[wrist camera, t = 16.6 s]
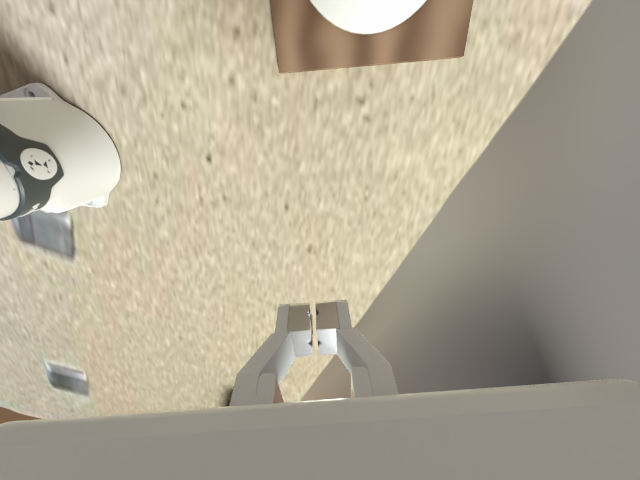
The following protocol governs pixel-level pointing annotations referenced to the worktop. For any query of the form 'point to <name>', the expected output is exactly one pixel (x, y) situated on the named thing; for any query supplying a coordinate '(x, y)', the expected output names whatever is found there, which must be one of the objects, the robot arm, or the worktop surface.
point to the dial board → (367, 37)
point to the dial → (366, 14)
